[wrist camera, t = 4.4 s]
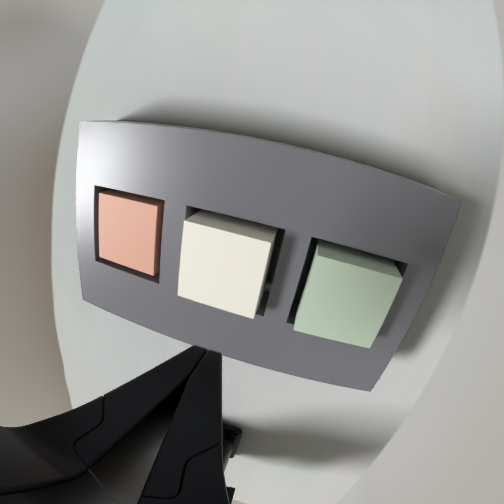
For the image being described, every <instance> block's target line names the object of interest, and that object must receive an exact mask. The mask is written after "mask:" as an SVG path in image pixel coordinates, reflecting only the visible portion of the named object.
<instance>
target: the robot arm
mask: <svg viewBox="0 0 504 504" xmlns="http://www.w3.org/2000/svg"><path fill="white" fill-rule="evenodd" d="M241 435H242V430H240V429H238V428H234V427H231V426H228V425H224V424H222V353H221V352H219V351H215V350H212V349H209V350H208V349H207V348H205V347H202V346H199V345H193V346H191V347H190V348H188V349H186V350H185V351H183V352H181V353H179V354H178V355H176V356H174V357H172V358H171V359H169V360H167V361H165V362H164V363H162V364H160V365H158V366H156V367H155V368H153V369H151V370H149V371H147V372H146V373H144V374H142V375H140V376H138V377H136V378H135V379H133V380H131V381H129V382H127V383H125V384H123V385H122V386H120V387H118V388H116V389H114V390H112V391H110V392H108V393H106V394H105V395H104V397H103V396H100V397H98V398H97V399H95V400H93V401H91V402H88V403H86V404H84V405H82V406H80V407H78V408H75V409H73V410H70V411H68V412H65V413H63V414H60V415H57V416H54V417H51V418H48V419H45V420H42V421H39V422H35V423H32V424H29V425H26V426H21V427H2V426H0V504H231V502H232V499H233V495H234V491H235V488H232V487H226V483H225V477H224V471H225V468H226V466H227V463H228V460H229V458H233V457H234V454H235V452H236V449H237V446H238V443H239V441H240V438H241Z"/></svg>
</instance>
